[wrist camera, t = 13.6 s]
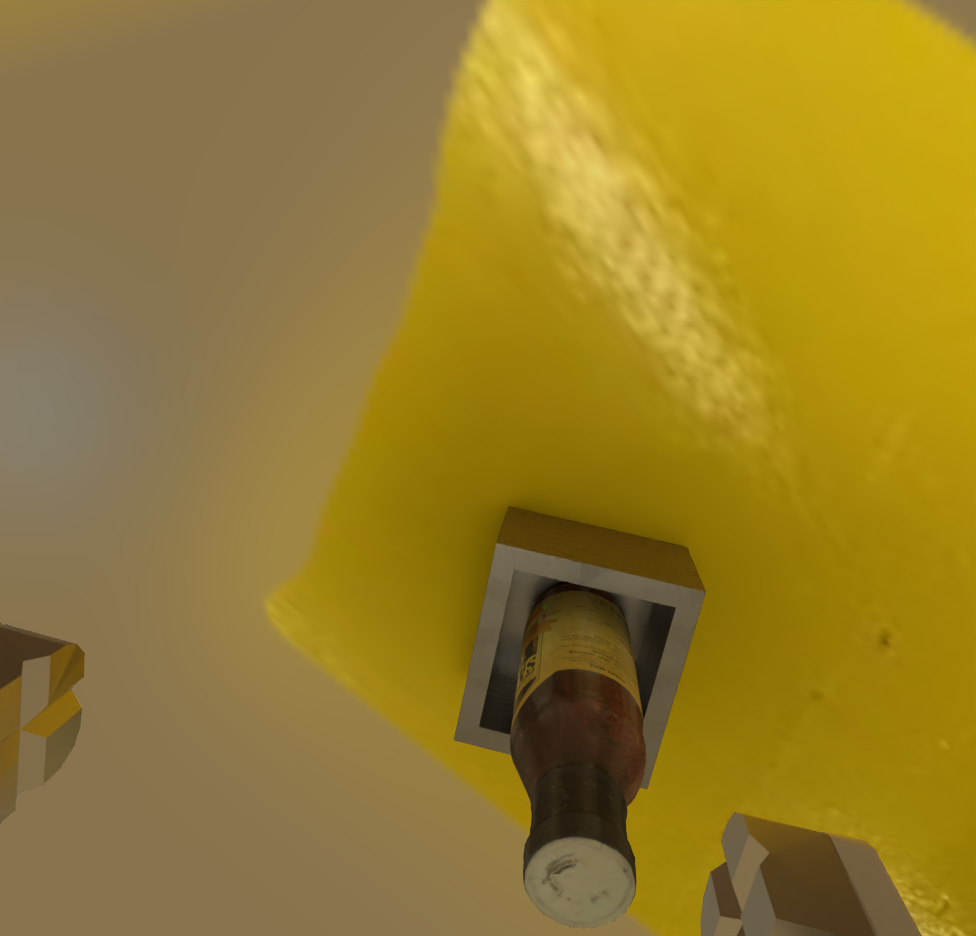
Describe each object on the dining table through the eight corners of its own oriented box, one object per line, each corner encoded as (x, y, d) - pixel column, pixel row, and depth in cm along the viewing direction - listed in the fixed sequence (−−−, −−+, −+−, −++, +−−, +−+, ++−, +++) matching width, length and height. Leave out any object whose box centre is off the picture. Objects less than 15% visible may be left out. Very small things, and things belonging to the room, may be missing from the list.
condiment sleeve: (687, 547, 44) (705, 591, 37) (637, 719, 47) (647, 789, 40) (508, 506, 45) (496, 542, 38) (471, 678, 48) (453, 740, 41)
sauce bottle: (519, 582, 45) (474, 796, 26) (623, 572, 44) (657, 788, 25) (533, 679, 46) (500, 953, 27) (634, 672, 45) (674, 950, 26)
